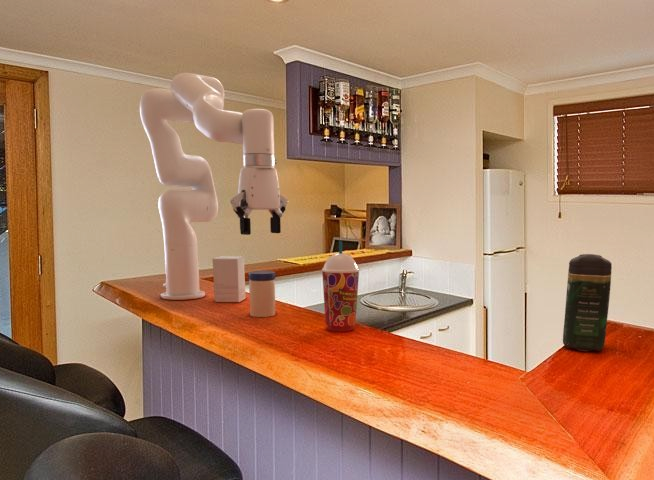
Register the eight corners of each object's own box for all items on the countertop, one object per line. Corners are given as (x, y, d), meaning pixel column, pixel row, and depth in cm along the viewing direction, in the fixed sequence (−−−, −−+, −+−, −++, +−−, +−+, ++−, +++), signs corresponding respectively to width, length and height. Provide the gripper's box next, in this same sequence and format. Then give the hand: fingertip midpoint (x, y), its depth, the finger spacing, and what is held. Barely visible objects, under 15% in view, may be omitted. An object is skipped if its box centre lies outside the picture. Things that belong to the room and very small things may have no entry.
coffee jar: (606, 354, 106) (614, 257, 103) (561, 350, 109) (568, 255, 106) (603, 343, 115) (611, 253, 112) (562, 339, 118) (569, 251, 115)
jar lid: (243, 278, 140) (242, 272, 140) (263, 276, 145) (263, 270, 145) (260, 281, 136) (260, 274, 136) (280, 278, 141) (280, 272, 141)
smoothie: (346, 335, 121) (346, 242, 117) (314, 330, 125) (314, 240, 122) (365, 327, 128) (366, 240, 124) (335, 323, 132) (335, 238, 129)
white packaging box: (246, 298, 166) (245, 255, 164) (238, 302, 158) (237, 258, 156) (222, 297, 166) (220, 255, 164) (213, 302, 159) (211, 258, 157)
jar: (244, 314, 142) (243, 274, 140) (264, 311, 147) (263, 271, 145) (261, 318, 138) (260, 276, 136) (280, 314, 143) (280, 274, 141)
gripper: (275, 165, 145) (277, 232, 148) (220, 161, 132) (223, 234, 135) (295, 164, 140) (296, 233, 143) (239, 160, 127) (242, 235, 130)
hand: (261, 233), depth 139 cm, fingers open, 9 cm apart
